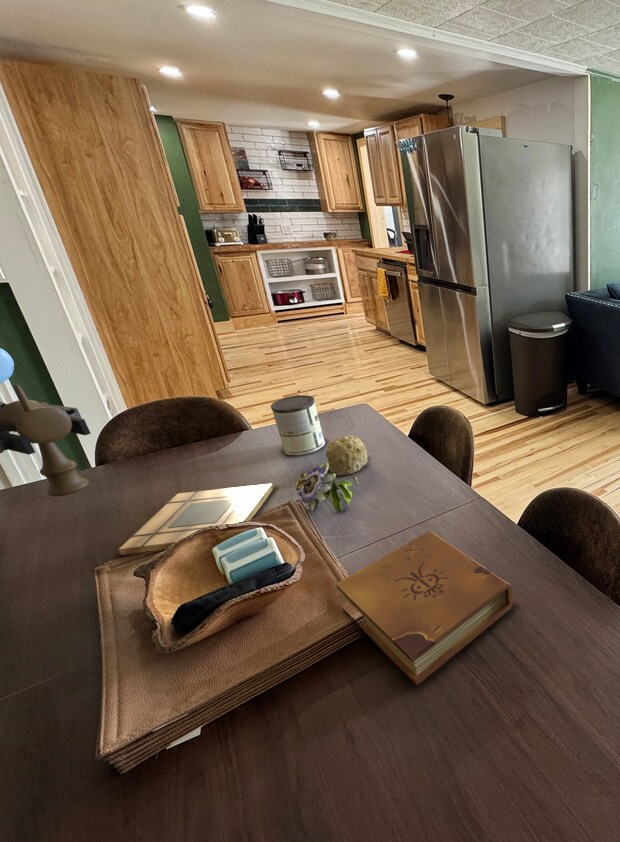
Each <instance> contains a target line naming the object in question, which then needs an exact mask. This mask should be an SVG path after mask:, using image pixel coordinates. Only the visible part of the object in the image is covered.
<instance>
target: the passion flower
mask: <svg viewBox="0 0 620 842" xmlns="http://www.w3.org/2000/svg"><path fill="white" fill-rule="evenodd" d="M329 470H330V469H329V463H328V461H325V462H324V463H321V464H317V466H315V467H314V468H311V469H308V471H306V473H305V472H302V473H301V474H300V476H299V477H298V479H297V482H296V483H295V487H296V488H295V490H296V491H297V492H298V495H299V497H300V499H301V502H303V503H304V504H305V505H306V504H307V507H306V509H305V510H306V511H310V510H311V511H312V512H313V511H315V510H316V509H317V508H318V505H319V502H324V501H325V500H326V499H327V500H328V501H329V502H330V503H332V506H333V508H334V510H336V511H338V512H339V511H340V512H343V500H342V498H341V495H340V493H341V494H342V496H343V499H344V501H345V502H346V505H347V506H350V503H351V502H352V498H353V492H352V491H353V490H352V489H351V486H353V484H352V481H349V480H351V479H353V480H354V482H355V484H356V486H357V487H358V486H360V483H359V480H358V478H357V475H354V476H351V477H348V478H346V479H344V480H339V481H338V482H336V480H335V479H336V478H337V477H336V476H337V475H335V474H334V473H329V472H328V471H329ZM338 490H339V492H340V493H339V492H338Z"/></svg>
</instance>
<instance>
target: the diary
mask: <svg viewBox="0 0 620 842" xmlns="http://www.w3.org/2000/svg"><path fill="white" fill-rule="evenodd" d="M335 587H336V589H337V590H338V591H339V592H340V593H341V594H342V595H343V597H344V599H345V598H346V600H348V602H349V603H350V604H351V605H352V606H353V607H355V609H357V611H359V612H360V613H361V614H362V615H363V617H364V619H365V621H366V623H367V625H368V626H367V625H366V624H365V622H364V623H360V624H359V625H358V626H359V628H360V629H361V630H363V632H364V633H366V635H367V636H369V638H370V639H371V640H372V641H373V642H374V643H375V644H376V645H377V646H378V647H379V648H380V649H381V650H382V651H383V653H385V654H386V655H387V656H388V657H389V658H390V659H391V660H392V661H393V663H394V664H395V665H396V666H398V668H399V669H400V670H401V671H402V672H403V673H404V674H405V675H406V676H407V677H408V678H409V679H410V680H411V681H412V682H413V683H414V684H415V685H416V686H419V685H420V684H421V683H422V682H424V681H425V680H426V679H427V678H428V677H430V675H432V674H433V673H435V671H437V670H438V669H439V668H440V667H442V666H443V665H444V664H445V663H447V662H448V661H449V660H451V658H453V657H454V656H455V655H456V654H457V653H459V652H460V651H462V649H464V648H465V647H466V646H467V645H468V644H470V643H471V642H473V640H475V639H476V638H477V637H478V636H479V635H481V634H482V633H483V632H484V631H486V630H487V629H488V628H490V627H491V626H492V625H493V624H495V622H497V621H498V620H499V619H500V618H502V617H503V615H505V614H506V613H507V612H509V611H510V610H511V608H512V606H513V604H514V594H513V586H512V585H511V584H510V583H509V582H507V581H506V580H504V579H502V578H501V577H500V576H498V575H497V574H495V573H494V572H492V571H491V570H489V568H487V567H485V566H484V565H482V564H481V563H479V562H478V561H476V560H474V559H473V558H472V557H471V556H469V555H467V554H466V553H464V552H463V551H461V550H460V549H459V548H457V547H455V546H454V545H452V544H450V543H449V542H448V541H447V540H445V539H444V538H442V537H440V536H439V535H437V534H436V533H435V532H433V531H430V530H428V531H426V532H425V533H423V534H421V535H419V536H418V537H415V538H414V539H412V540H411V541H409V542H407V543H405V544H403V545H402V546H400V547H398V548H397V549H395V550H393V551H391V552H389V553H387V554H386V555H384V556H382V557H380V558H379V559H377V560H375V561H374V562H372V563H370V564H368V565H366V566H365V567H363V568H361V569H359V570H358V571H356V572H354V573H353V574H351V575H348V576H347V577H345V578H343V579H342V580H340V581H337V583H335ZM346 600H345V601H346Z"/></svg>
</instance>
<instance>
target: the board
mask: <svg viewBox="0 0 620 842" xmlns="http://www.w3.org/2000/svg"><path fill="white" fill-rule="evenodd" d="M274 489H275V488H274V485H273V483H266V484H265V483H264V484H257V485H255V484H253V485H246V486H236V487H235V486H234V487H226V488H217V489H207V490H195V491H189V492H179V493H176V494H175V496H173V497H172V498H171V499H170V500H169V501H168V502H166V504H165V505H164V506H163V507H161V508H160V510H158V511H157V512H156V513H155V514H154V515H153V516H152V517H150V519H149V520H147V522H146V523H144V525H142V526H141V528H139V529H138V530H137V531H136V532H135V533H134V534H132V535H131V537H130V538H129V539H127V541H126V542H124V543H123V545H122V546H120V547H119V548H118V551H119V553H120V555H121V556H125V555H132V554H133V555H134V554H141V553H142V552H143V553H146V552H145V551H149V550H153V551H152V552H157V551H158V550H159V551H164V550H163V549H166V548H168V547H169V546H171V545H172V544H174V543H176V542H178V541H179V540H181V539H183V538H185V537H187V536H189V535H190V534H192V533H194V532H196V531H198V530H201V529H203V528H206V527H209V526H216V525H225V524H235V523H239V522H243V521H249V520H250V521H252V520H253V518H254V516H255V515H256V514H257V512H258V511H259V510H260V508H261V507H262V506H263V504H264V503H265V501H266V500H267V499H268V498H269V497H270V495H271V493H273V491H274Z"/></svg>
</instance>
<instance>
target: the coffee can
mask: <svg viewBox="0 0 620 842" xmlns="http://www.w3.org/2000/svg"><path fill="white" fill-rule="evenodd" d="M315 400H316V399H315V397H314V396H312V395H307V394H303V395H302V394H300V395H291V396H287V397H284V398H281V399H277V400H276V401H273V403H271V404H270V409H271V411H272V415H273V417H274V420H275V424H276V427H277V431H278V434H279V438H280V441H281V444H282V447H283V452H284V454H286V455H288V456H302V455H308V454H311V453H314V452H316V451H318V450H321V448H323V447H324V446H325V444H326V441H325V438H324V435H323V429H322V426H321V423H320V419H319V414H318V411H317V406H316V403H315V402H316V401H315Z"/></svg>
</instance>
